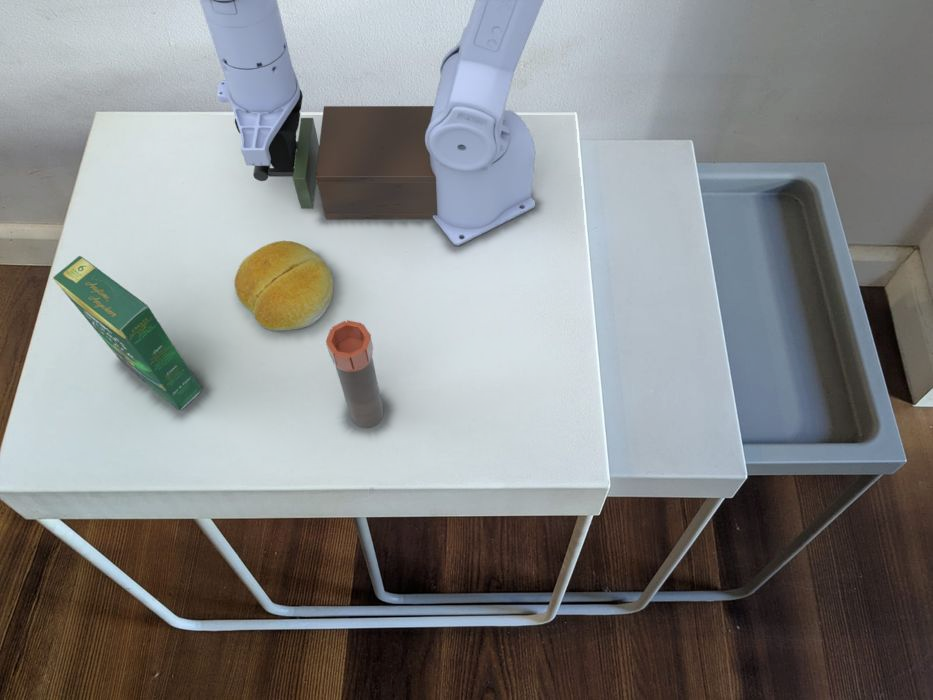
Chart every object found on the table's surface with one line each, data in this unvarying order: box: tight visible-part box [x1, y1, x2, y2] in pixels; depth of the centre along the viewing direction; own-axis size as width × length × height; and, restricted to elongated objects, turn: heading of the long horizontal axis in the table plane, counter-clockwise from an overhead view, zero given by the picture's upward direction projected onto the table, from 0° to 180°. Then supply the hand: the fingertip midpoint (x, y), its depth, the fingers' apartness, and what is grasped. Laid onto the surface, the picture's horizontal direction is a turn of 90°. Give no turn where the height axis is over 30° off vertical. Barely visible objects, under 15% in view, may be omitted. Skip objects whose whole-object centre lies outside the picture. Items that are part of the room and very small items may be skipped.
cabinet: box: [316, 105, 437, 220], centre depth 75 cm, size 12×9×6 cm
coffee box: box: [52, 255, 203, 411], centre depth 61 cm, size 8×3×13 cm, turn 52°
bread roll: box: [234, 240, 335, 332], centre depth 70 cm, size 8×9×4 cm
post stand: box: [335, 357, 384, 429], centre depth 61 cm, size 3×3×10 cm
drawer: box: [252, 117, 320, 210], centre depth 75 cm, size 15×8×4 cm, turn 90°
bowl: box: [325, 320, 374, 372], centre depth 56 cm, size 3×3×2 cm
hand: (284, 162), depth 75 cm, fingers closed
